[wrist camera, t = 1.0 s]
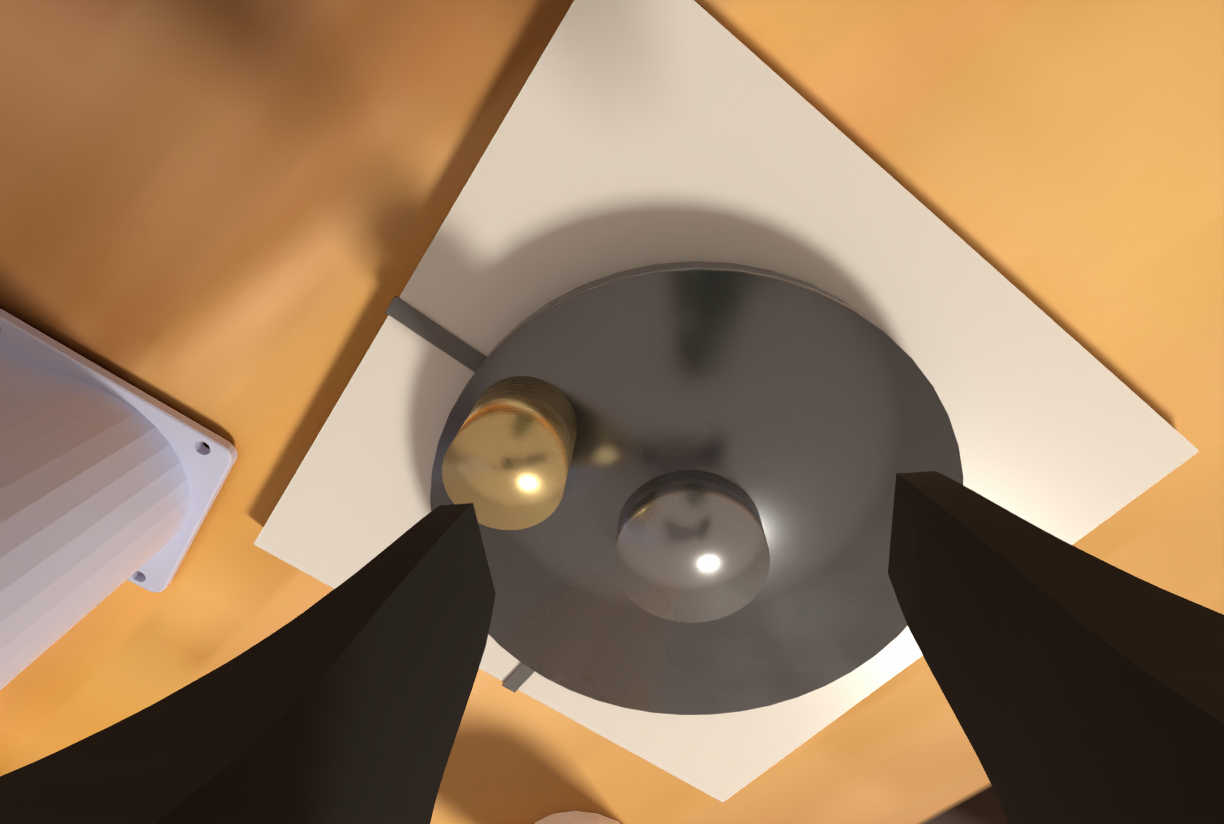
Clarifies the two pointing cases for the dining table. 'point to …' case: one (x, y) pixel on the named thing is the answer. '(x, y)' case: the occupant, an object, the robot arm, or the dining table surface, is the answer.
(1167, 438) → the wheel base
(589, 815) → the white cylinder
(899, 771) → the dining table surface
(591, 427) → the handwheel
